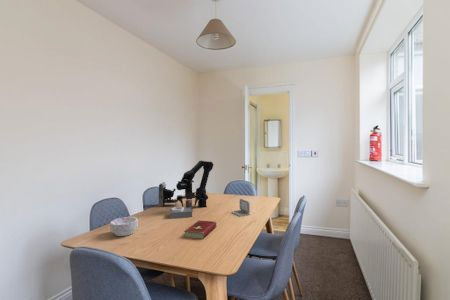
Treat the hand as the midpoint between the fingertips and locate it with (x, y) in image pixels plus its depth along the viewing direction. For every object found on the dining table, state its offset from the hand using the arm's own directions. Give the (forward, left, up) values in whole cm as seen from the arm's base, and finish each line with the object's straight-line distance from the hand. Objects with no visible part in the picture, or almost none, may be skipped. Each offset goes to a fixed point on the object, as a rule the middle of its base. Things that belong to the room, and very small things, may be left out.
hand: (188, 207), depth 199 cm
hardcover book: (-4, +52, -3) cm, 52 cm away
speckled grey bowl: (+41, +43, -2) cm, 60 cm away
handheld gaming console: (-37, +20, -2) cm, 42 cm away
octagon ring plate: (+7, +13, -2) cm, 15 cm away
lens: (0, 0, -2) cm, 2 cm away
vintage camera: (+16, -22, -2) cm, 27 cm away
